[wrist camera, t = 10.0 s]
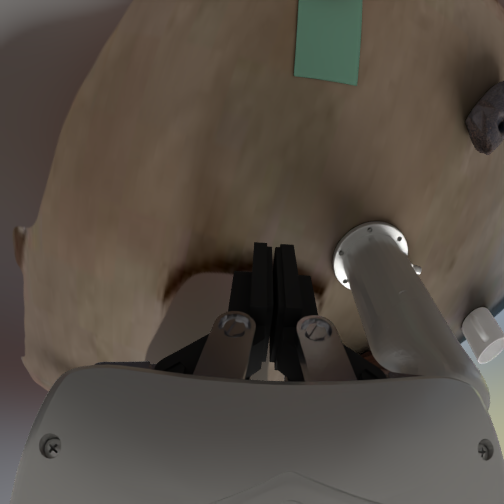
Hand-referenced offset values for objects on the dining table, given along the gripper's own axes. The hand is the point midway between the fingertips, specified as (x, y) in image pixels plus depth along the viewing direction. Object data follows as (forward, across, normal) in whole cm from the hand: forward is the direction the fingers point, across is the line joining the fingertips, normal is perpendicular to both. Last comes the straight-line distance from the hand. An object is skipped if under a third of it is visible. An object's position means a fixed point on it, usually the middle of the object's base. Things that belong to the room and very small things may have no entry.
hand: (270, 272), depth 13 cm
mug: (+27, -50, +29) cm, 64 cm away
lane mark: (+27, -7, -24) cm, 37 cm away
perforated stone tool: (+28, -33, -12) cm, 45 cm away
